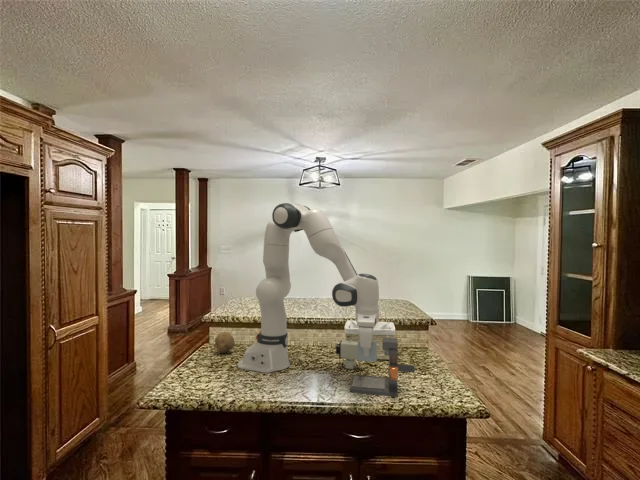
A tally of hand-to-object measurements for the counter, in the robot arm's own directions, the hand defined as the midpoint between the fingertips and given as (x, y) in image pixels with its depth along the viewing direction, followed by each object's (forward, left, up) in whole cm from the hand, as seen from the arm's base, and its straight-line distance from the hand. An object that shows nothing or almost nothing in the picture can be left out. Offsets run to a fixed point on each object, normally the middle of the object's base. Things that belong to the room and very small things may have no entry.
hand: (367, 353), depth 136 cm
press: (+6, 0, -12) cm, 14 cm away
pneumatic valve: (-8, +18, -13) cm, 23 cm away
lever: (+10, -7, -5) cm, 13 cm away
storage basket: (-1, +37, -13) cm, 39 cm away
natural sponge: (-69, +24, -13) cm, 74 cm away
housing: (0, 0, -2) cm, 2 cm away
